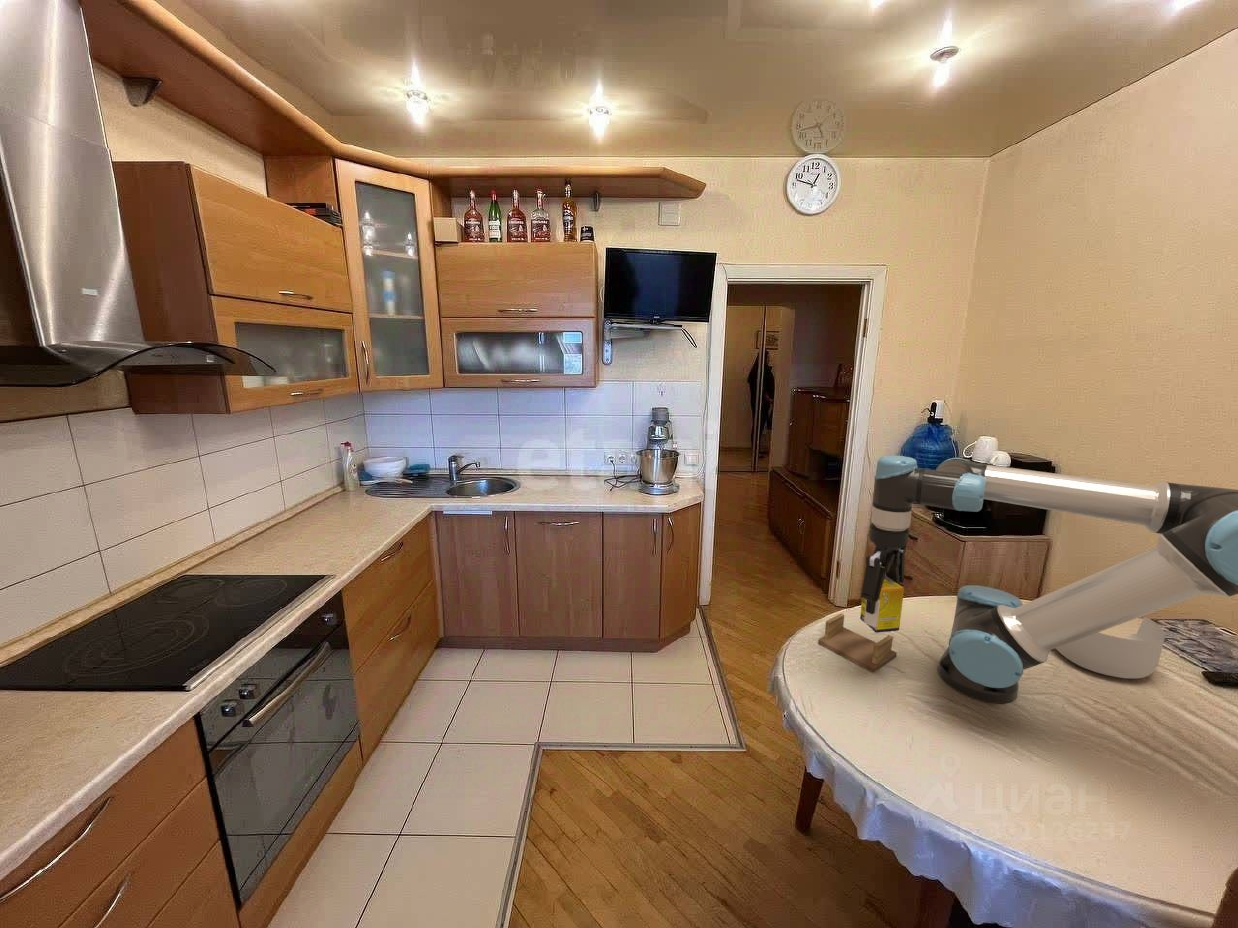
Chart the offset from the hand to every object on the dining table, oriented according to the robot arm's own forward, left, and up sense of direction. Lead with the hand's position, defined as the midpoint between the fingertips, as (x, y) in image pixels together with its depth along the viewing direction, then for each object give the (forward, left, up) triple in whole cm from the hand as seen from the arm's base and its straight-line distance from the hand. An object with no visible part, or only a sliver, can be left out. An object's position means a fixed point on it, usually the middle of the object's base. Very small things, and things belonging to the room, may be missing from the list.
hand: (879, 618), depth 110 cm
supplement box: (0, 0, -2) cm, 2 cm away
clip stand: (+9, -8, -16) cm, 20 cm away
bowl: (-28, -52, -16) cm, 61 cm away
